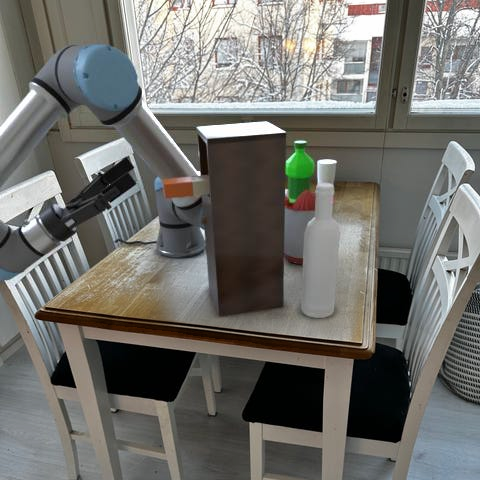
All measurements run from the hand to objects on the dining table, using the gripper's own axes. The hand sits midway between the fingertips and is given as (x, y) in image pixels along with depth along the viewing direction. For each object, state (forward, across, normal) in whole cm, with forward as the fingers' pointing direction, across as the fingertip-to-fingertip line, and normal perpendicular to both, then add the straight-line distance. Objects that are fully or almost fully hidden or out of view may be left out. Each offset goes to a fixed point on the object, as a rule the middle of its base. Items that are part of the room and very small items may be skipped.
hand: (131, 169), depth 96 cm
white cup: (+52, +87, +69) cm, 123 cm away
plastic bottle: (+32, +57, +58) cm, 87 cm away
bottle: (+16, -11, +49) cm, 53 cm away
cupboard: (+3, 0, +41) cm, 41 cm away
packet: (+12, 0, +14) cm, 18 cm away
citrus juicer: (+23, +20, +52) cm, 61 cm away
